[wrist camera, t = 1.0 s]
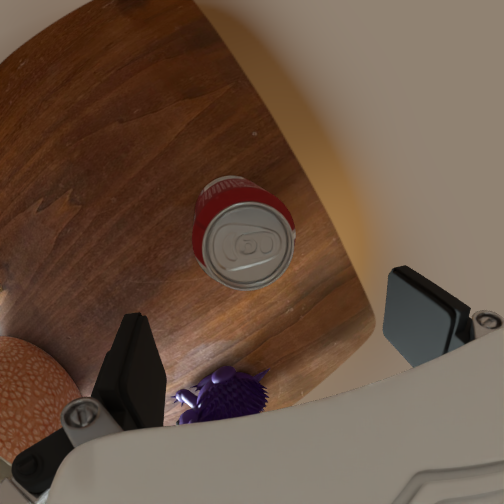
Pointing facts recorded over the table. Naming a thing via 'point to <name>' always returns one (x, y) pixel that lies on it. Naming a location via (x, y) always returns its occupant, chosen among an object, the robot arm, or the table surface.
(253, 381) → the creature
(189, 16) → the table surface
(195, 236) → the soda can
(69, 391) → the planter
